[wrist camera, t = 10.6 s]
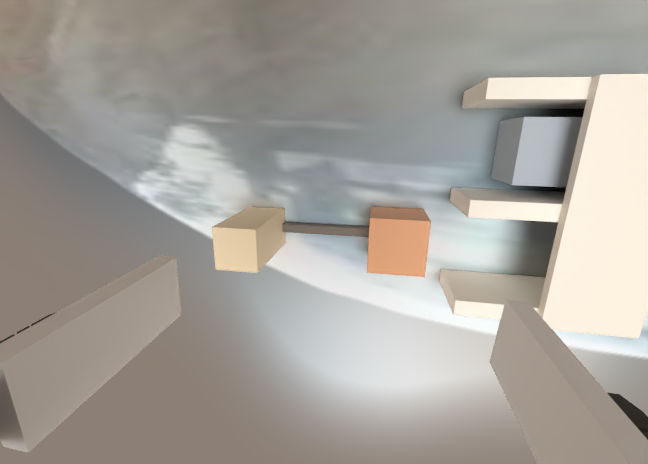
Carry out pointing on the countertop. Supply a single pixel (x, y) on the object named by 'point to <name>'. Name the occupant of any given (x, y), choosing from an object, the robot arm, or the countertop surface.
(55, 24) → the countertop surface
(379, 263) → the corded block
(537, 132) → the slate block
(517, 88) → the shelf lanes
